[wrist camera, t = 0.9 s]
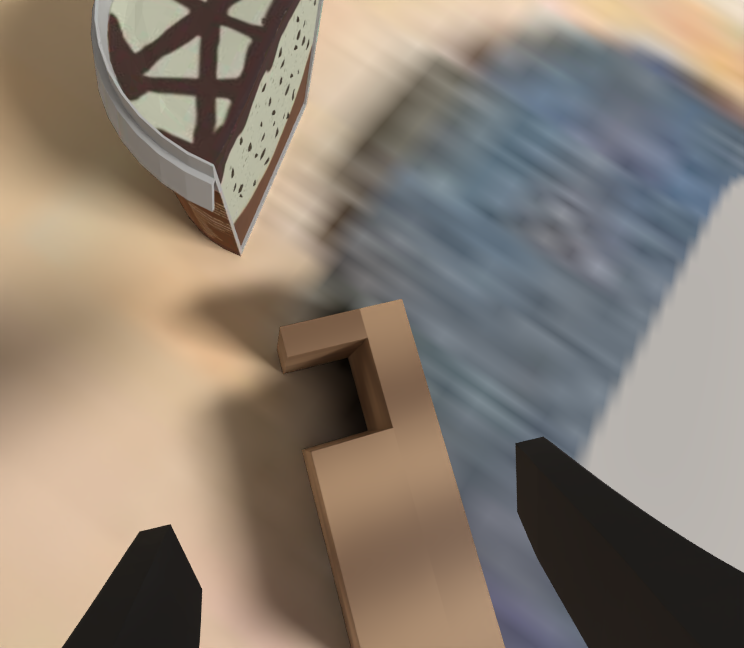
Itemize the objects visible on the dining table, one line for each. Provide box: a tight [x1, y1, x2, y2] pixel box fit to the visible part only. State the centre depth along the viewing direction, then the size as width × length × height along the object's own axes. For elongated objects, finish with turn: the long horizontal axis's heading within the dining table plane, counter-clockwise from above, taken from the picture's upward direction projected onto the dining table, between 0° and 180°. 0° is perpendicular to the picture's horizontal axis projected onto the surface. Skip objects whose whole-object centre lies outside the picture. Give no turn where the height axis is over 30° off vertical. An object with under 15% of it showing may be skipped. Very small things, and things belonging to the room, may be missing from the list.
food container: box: [91, 0, 323, 256], centre depth 21 cm, size 12×6×10 cm, turn 161°
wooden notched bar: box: [277, 299, 505, 648], centre depth 21 cm, size 19×5×5 cm, turn 16°
